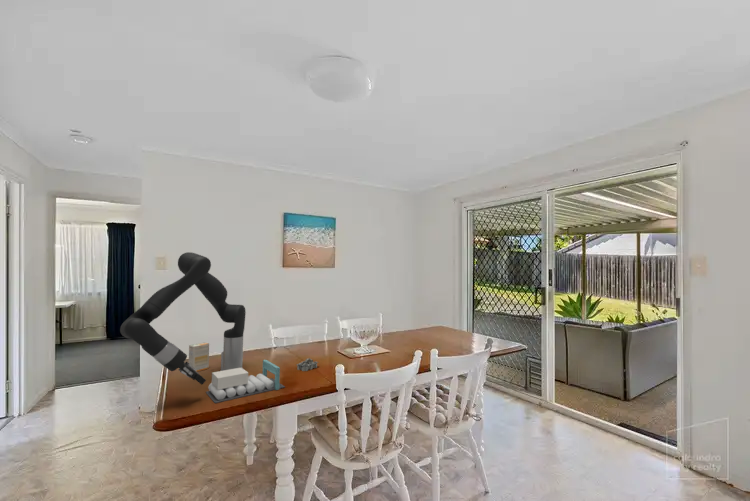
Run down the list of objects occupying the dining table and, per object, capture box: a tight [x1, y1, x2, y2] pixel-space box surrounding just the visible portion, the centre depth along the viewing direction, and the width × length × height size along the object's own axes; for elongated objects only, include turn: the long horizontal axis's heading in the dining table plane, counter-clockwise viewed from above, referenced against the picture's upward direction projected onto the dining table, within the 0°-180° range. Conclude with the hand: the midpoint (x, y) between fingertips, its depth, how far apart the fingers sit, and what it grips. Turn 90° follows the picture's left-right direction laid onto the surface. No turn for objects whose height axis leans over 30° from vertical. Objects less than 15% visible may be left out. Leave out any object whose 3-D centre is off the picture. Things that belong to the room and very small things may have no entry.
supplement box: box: [188, 342, 210, 373], centre depth 175 cm, size 8×5×13 cm, turn 146°
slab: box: [211, 367, 249, 390], centre depth 144 cm, size 12×9×4 cm
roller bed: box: [205, 373, 286, 404], centre depth 148 cm, size 29×14×4 cm, turn 129°
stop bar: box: [262, 359, 281, 391], centre depth 155 cm, size 2×16×9 cm, turn 39°
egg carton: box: [295, 357, 319, 372], centre depth 181 cm, size 11×8×4 cm
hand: (203, 382), depth 138 cm, fingers closed
